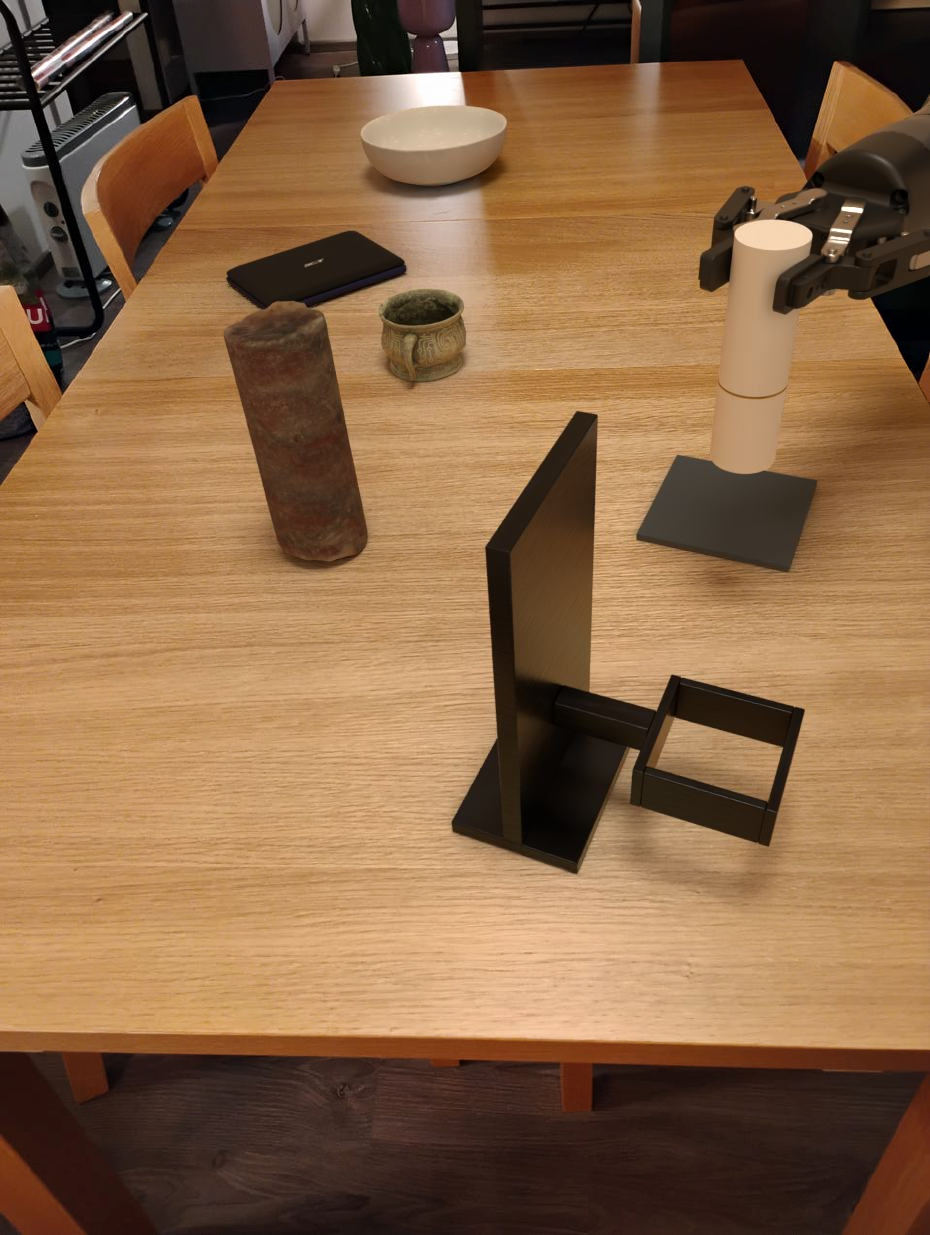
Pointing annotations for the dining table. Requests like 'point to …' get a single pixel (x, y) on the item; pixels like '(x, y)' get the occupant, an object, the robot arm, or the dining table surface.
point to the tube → (755, 346)
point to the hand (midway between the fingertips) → (742, 285)
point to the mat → (729, 513)
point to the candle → (298, 430)
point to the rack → (587, 691)
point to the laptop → (316, 270)
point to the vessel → (423, 333)
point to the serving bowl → (434, 143)
